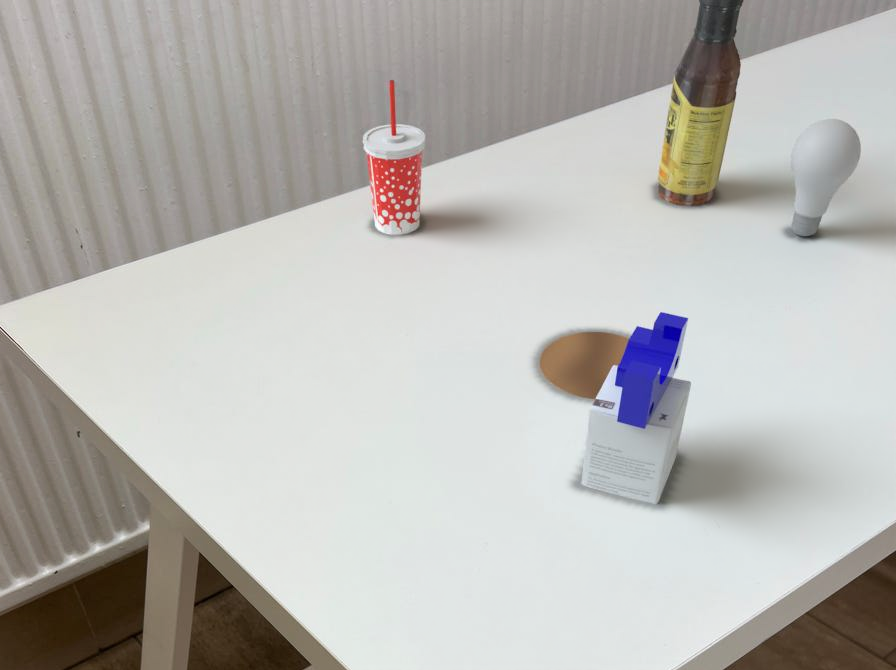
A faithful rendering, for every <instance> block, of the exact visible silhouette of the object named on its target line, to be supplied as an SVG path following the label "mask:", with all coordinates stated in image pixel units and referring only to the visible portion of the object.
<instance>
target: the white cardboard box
mask: <svg viewBox="0 0 896 670" xmlns="http://www.w3.org/2000/svg"><path fill="white" fill-rule="evenodd" d="M617 367H618V366H617V365H613V367H612V368H611V370H610V372H609V374H608V376H607V378H606V380H605V382H604V384H603V386H602V387H601V389H600V391H599V393H598V395H597V397H596V399H594V401H593V402H592V403H591V406H590V408H589V411H588V419H587V429H586V438H585V448H584V455H583V466H582V475H581V476H582V477H581V485H582V486H584V487H586V488H590V489H594V490H598V491H600V492H605V493H608V494H612V495H616V496H621V497H624V498H629V499H631V500H632V499H633V500H636V501H640V502H645V503H649V504H653V505H658V504H659V502H660V500H661V498H662V497H661V496H662V494H663V492H664V489H665V487H666V484H667V481H668V479H669V477H670V472H671V471H672V468H673V466H674V463H675V460H676V458H677V454H678V449H679V444H680V439H681V436H682V430H683V425H684V421H685V420H684V419H685V415H686V411H687V406H688V402H689V397H690V392H691V387H692V382H691V381H690V380H685V379H680V378H676V377H673V378H672V379H671V381H670V383H669V385H668V387H667V389H666V391H665V392H664V394H663V396H662V398H661V400H660V402H659V404H658V405H657V407H656V409H655V411H654V413H653V415H652V417H651V418H650V420H649V422H648V424H647V426H646V428H645V429H643V428H639V427H635V426H631V425H628V424H624V423H620V422H617V418H618V412H619V405H620V399H621V393H622V387H620V386H616V385H615V380H616V374H617Z"/></svg>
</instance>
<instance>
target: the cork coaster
mask: <svg viewBox="0 0 896 670" xmlns="http://www.w3.org/2000/svg"><path fill="white" fill-rule="evenodd" d="M629 338H630V337H627V336H624V335H620V334H618V333H617V334H616V333H612V332H606V331H605V332H604V331H582V332H575V333H571V334H566V335H564V336H561V337H559V338H557V339H555V340H553V341H552V342H550V343H549V344H548V345H546V347H545V348H544V349H543V350H542V353H541V354H540V357H539V361H538V362H539V369H540V372H541V374H542V375H543V377H544V378H545V380H546V381H548V383H550V385H552V386H554V387H555V388H557V389H559V390H560V391H563V392H564V393H567V394H569V395H572V396H576V397H580V398H584V399H591V400H595V399H596V397H597V395H598V393H599V391H600V389H601V387H602V386H603V384H604V382H605V380H606V378H607V376H608V374H609V372H610V370H611V368H612V367H613V365H617V366H618V365H619V364H620V362H621V359H622V357H623V355H624V352H625V349H626V346H627V343H628V340H629Z"/></svg>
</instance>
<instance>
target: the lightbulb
mask: <svg viewBox="0 0 896 670" xmlns="http://www.w3.org/2000/svg"><path fill="white" fill-rule="evenodd" d="M861 147H862V145H861V139H860V137H859V134H858V132H857V131H856V129H855V128H854V127H853V126H852V125H851V124H849V123H848V122H846V121H844V120H842V119H839V118H838V119H837V118H826V119H823V120H822V119H821V120H819V121H817V122H814V123H812V124H811V125H809V126H808V127H807V128H805V130H803V131H802V133H801V134H800V135H799V136H798V138H796V140H795V143H794V145H793V147H792V150H791V154H790V168H791V173H792V177H793V181H794V186H795V198H794V203H793V210H794V213H793V217H792V222H791V226H790V229H791V231H792V232H793V233H794V234H796V235H798V236H799V237H810V236H813V235H815V234H817V232H818V229H819V226H820V224H821V221H822V218H823V216H824V215H825V214H826V212H827V211H828V208H829V206H830V203H831V201H832V199H833V196H835V194H836V193H837V191H839V189H840V188H841V187H842V186H843V185H844V184H845V183H846V181H847V180H848V179H849V178H850V177H851V176H852V174H854V172H855V170H856V168H857V167H858V165H859V162H860V158H861V152H862V149H861Z"/></svg>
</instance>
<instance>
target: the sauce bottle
mask: <svg viewBox="0 0 896 670" xmlns="http://www.w3.org/2000/svg"><path fill="white" fill-rule="evenodd" d="M698 2H699V6H698V12H697V19H696V24H695V27H694V30H693V35H692V37H691V39H690V41H689V43H688V46H687V47H686V50H685V51H684V53H683V55H682V58H681V59H680V62H679V64H678V65H677V67H676V69H675V71H674V74H673V81H672V87H671V92H670V100H669V106H668V112H667V118H666V124H665V130H664V137H663V143H662V149H661V156H660V161H659V167H658V174H657V181H658V184H657V192H658V195H659V197H660V198H661V199H662V200H664V201H665V202H668V203H671V204H673V205H677V206H687V207H689V206H693V207H694V206H701V205H704V204H707V203H708V202H709V201H710V200H712V199H713V197H714V195H715V193H716V188H717V185H718V182H719V178H720V175H721V174H720V173H721V169H722V165H723V161H724V155H725V151H726V150H725V149H726V146H727V140H728V136H729V131H730V127H731V122H732V118H733V111H734V108H735V103H736V97H737V87H738V81H739V79H740V75H741V67H742V64H741V63H742V62H741V58H740V54H739V50H738V48H737V46H736V42H735V37H736V34H737V26H738V22H739V16H740V11H741V7H742V6H743V3H744V0H698Z"/></svg>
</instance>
